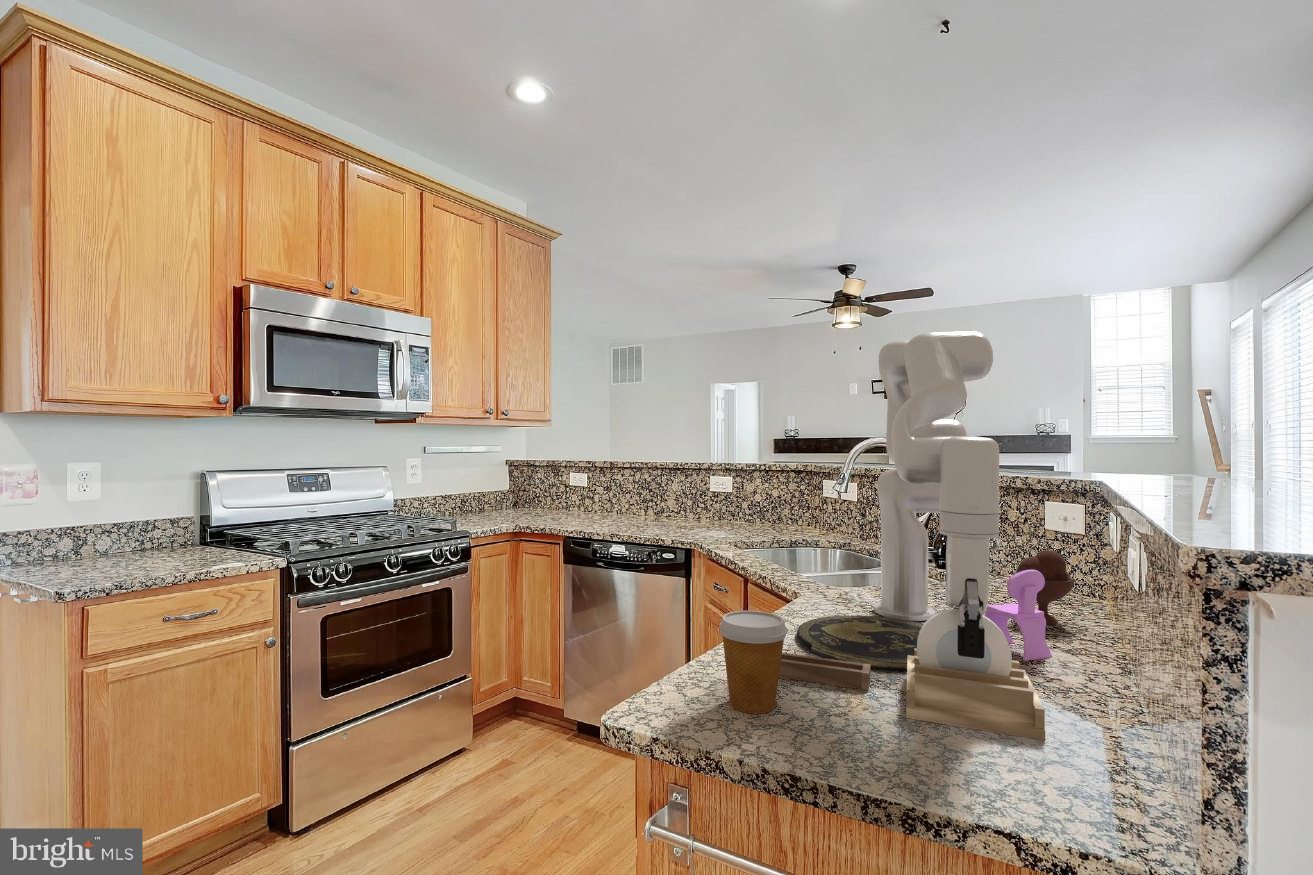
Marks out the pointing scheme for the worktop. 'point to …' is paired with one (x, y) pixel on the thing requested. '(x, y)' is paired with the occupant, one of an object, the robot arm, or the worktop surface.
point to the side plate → (942, 646)
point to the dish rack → (975, 699)
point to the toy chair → (1023, 613)
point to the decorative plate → (862, 640)
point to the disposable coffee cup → (753, 658)
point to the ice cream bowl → (1049, 579)
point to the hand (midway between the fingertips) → (967, 645)
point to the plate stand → (825, 671)
